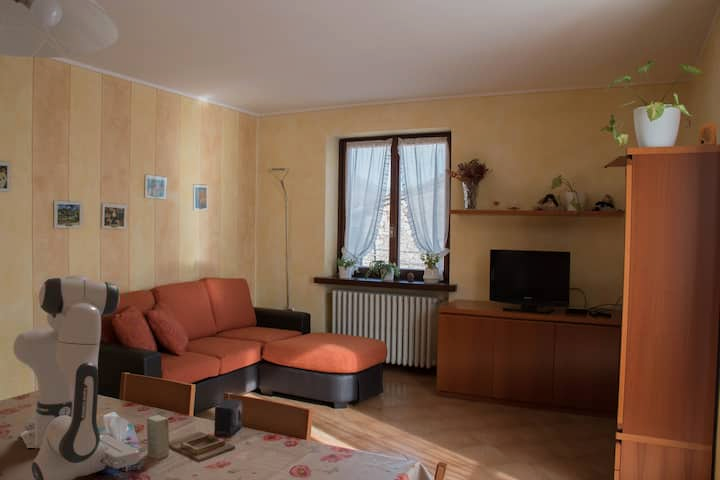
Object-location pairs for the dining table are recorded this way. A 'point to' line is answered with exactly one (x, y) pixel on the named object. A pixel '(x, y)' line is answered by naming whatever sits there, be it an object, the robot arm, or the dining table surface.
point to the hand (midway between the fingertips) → (137, 443)
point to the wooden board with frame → (200, 445)
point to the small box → (228, 417)
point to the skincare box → (157, 437)
